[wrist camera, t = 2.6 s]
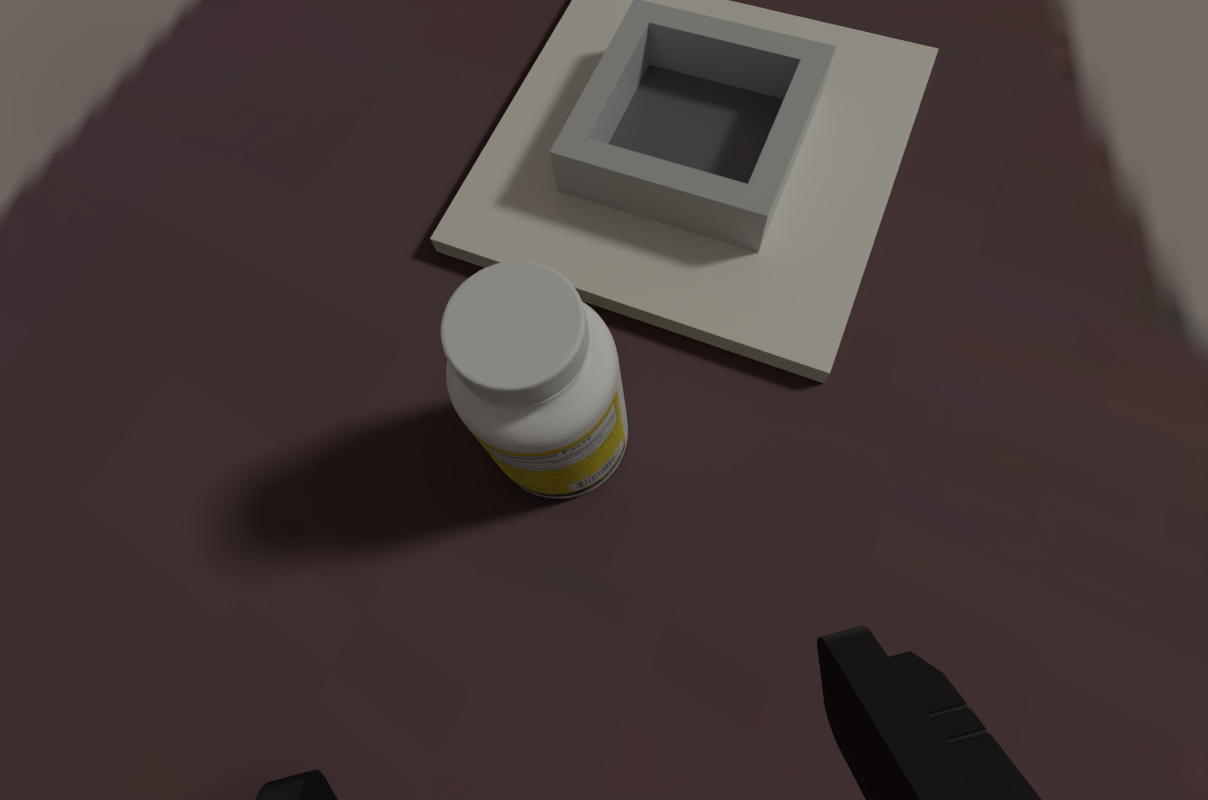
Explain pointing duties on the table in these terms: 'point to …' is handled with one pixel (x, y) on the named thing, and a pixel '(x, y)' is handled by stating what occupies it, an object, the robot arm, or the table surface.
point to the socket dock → (699, 170)
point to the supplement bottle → (535, 378)
